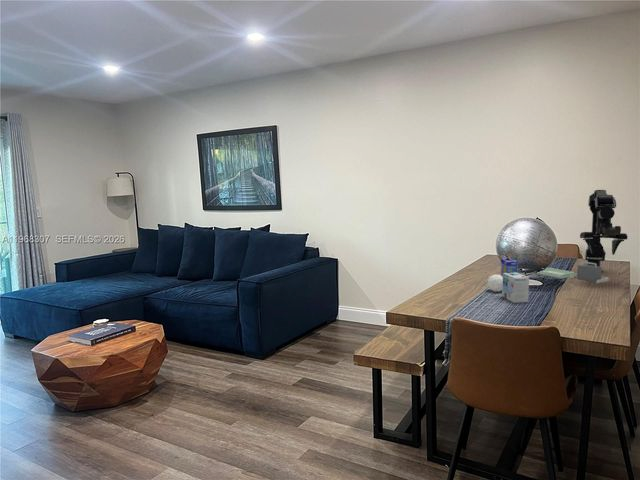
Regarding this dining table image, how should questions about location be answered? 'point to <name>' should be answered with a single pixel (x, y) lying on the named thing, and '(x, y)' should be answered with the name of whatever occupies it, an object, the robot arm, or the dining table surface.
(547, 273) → the tray
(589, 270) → the grey box with tab
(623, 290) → the dining table surface
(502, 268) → the ink cartridge box
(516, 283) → the light bulb box
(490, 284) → the white rounded piece
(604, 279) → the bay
